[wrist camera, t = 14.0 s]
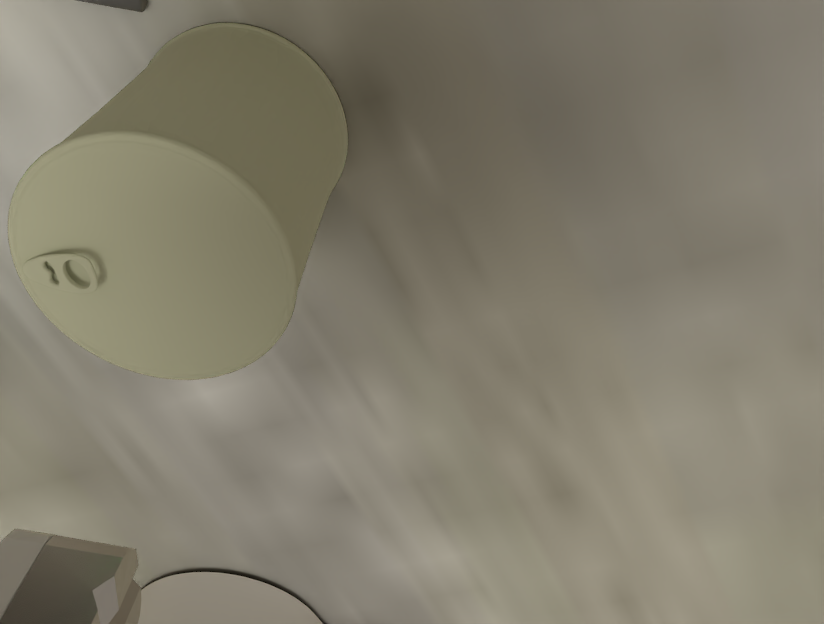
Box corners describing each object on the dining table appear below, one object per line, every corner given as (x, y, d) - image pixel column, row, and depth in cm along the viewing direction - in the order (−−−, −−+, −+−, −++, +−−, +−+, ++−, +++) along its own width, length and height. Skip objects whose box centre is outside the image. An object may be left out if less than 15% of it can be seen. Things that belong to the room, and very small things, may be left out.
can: (112, 26, 31) (-55, 143, 21) (335, 16, 30) (267, 132, 20) (167, 225, 36) (54, 392, 27) (358, 221, 36) (313, 392, 26)
